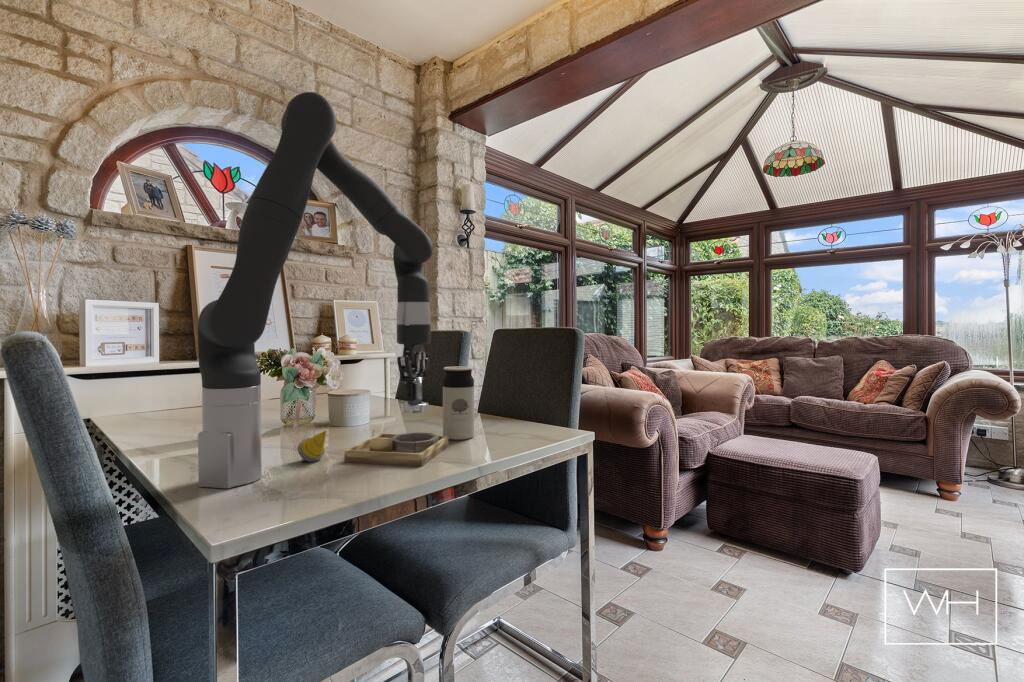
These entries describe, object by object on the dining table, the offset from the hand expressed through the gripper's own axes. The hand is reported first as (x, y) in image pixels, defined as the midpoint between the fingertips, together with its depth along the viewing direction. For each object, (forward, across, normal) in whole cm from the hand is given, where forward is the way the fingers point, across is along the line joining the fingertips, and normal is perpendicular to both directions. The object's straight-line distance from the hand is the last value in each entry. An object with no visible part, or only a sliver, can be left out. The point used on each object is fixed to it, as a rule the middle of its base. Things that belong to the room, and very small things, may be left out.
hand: (414, 398), depth 108 cm
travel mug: (+12, -16, +6) cm, 21 cm away
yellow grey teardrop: (+12, +11, -18) cm, 24 cm away
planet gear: (+3, 0, 0) cm, 3 cm away
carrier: (+12, +3, -3) cm, 13 cm away
